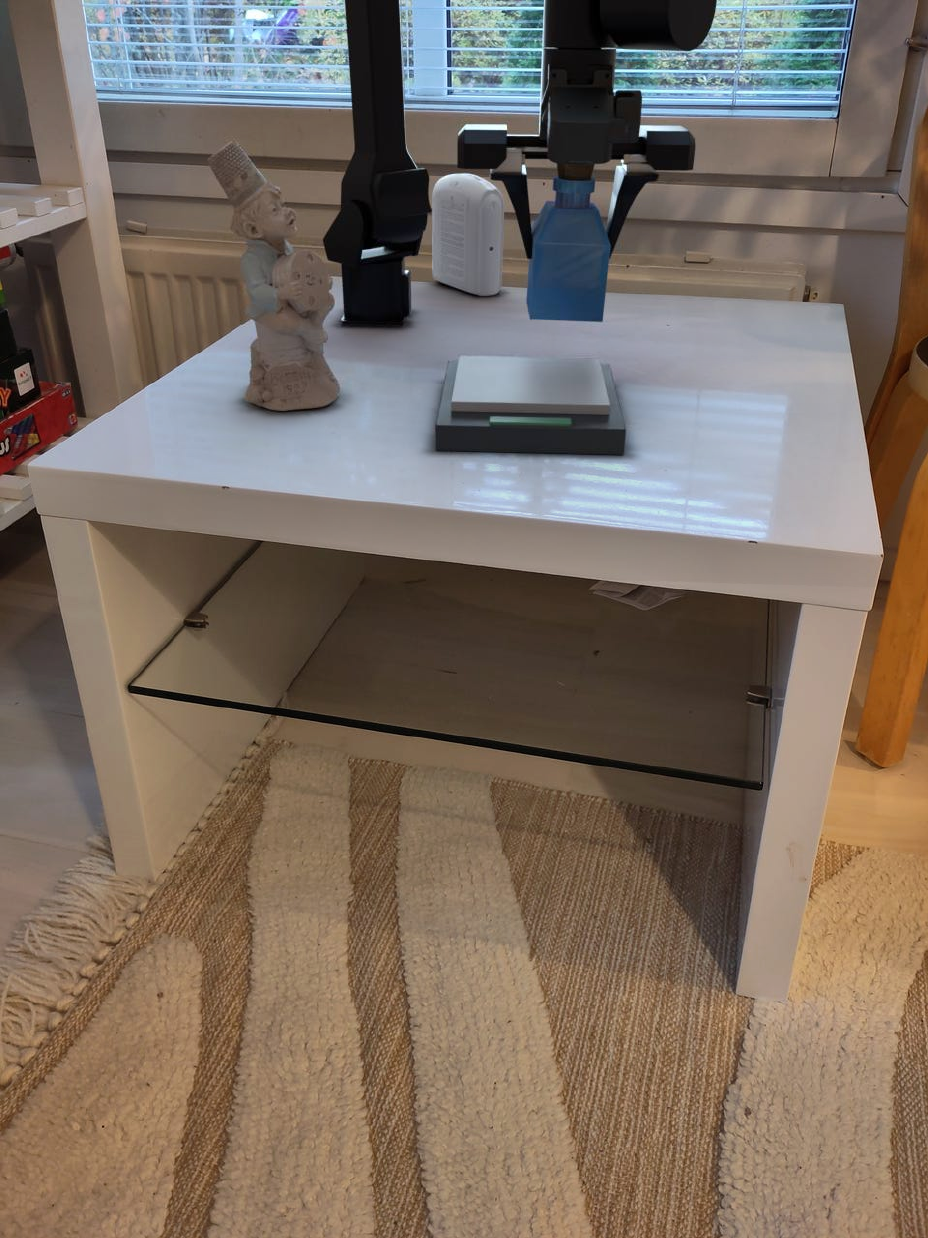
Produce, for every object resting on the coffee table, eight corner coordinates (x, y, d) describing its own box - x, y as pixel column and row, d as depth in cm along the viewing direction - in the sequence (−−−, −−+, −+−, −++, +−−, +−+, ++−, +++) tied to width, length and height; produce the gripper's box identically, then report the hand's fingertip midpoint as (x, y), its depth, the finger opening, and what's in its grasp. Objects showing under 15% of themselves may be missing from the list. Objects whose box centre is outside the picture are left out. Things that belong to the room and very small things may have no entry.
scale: (435, 450, 76) (435, 414, 74) (448, 383, 89) (448, 351, 88) (623, 455, 75) (627, 418, 74) (607, 386, 89) (610, 354, 87)
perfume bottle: (602, 321, 86) (618, 168, 80) (529, 319, 86) (540, 165, 80) (594, 303, 91) (609, 158, 85) (526, 301, 91) (535, 155, 85)
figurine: (217, 406, 84) (184, 139, 73) (274, 377, 90) (251, 129, 80) (309, 422, 81) (288, 146, 70) (361, 391, 87) (349, 134, 77)
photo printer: (507, 293, 118) (510, 178, 111) (477, 298, 115) (479, 181, 109) (456, 276, 125) (456, 167, 118) (427, 281, 123) (426, 170, 116)
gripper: (454, 50, 72) (454, 278, 80) (720, 52, 71) (693, 281, 79) (459, 46, 81) (459, 250, 89) (693, 47, 81) (672, 252, 89)
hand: (567, 258), depth 86 cm, fingers closed on perfume bottle, 6 cm apart
